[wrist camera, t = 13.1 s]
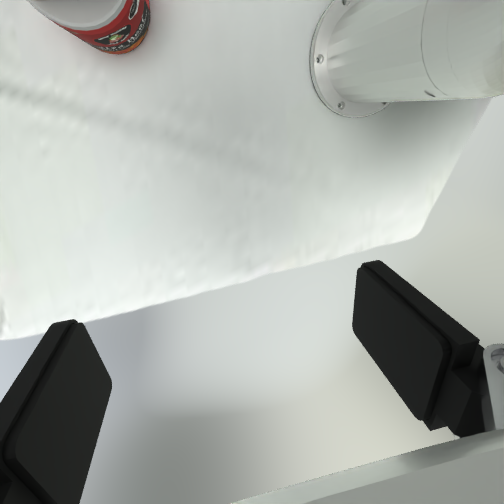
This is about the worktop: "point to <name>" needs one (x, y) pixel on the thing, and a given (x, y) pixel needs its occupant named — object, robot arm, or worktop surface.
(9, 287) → the worktop surface
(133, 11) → the canned food
